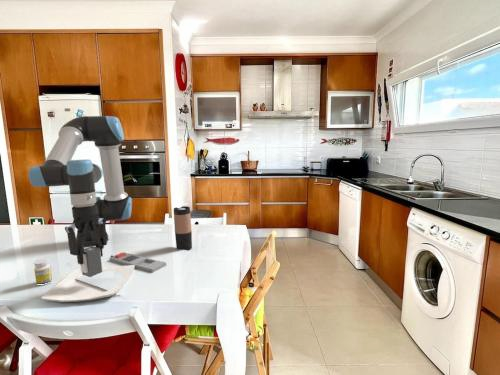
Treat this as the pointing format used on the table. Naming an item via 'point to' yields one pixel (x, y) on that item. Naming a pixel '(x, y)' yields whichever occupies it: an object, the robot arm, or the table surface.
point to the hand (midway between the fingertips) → (91, 268)
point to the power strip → (138, 262)
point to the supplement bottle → (42, 272)
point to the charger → (93, 261)
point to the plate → (85, 286)
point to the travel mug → (183, 228)
